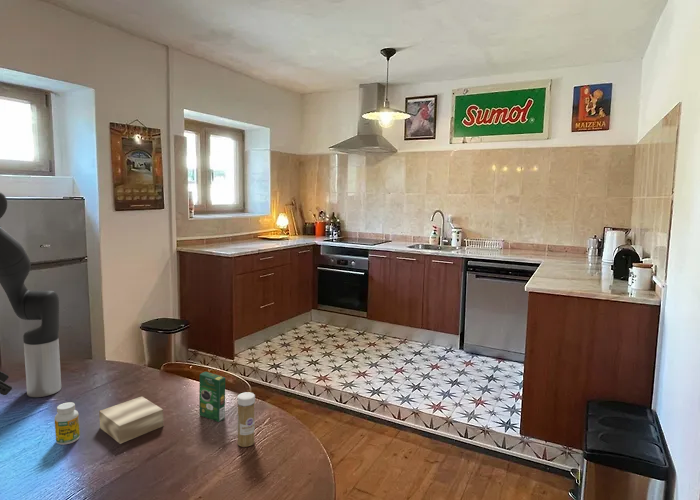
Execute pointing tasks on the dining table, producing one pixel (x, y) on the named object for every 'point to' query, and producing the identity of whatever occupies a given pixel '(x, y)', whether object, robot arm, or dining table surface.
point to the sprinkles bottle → (246, 419)
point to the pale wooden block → (131, 419)
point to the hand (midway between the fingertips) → (7, 385)
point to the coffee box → (212, 396)
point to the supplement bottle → (67, 424)
